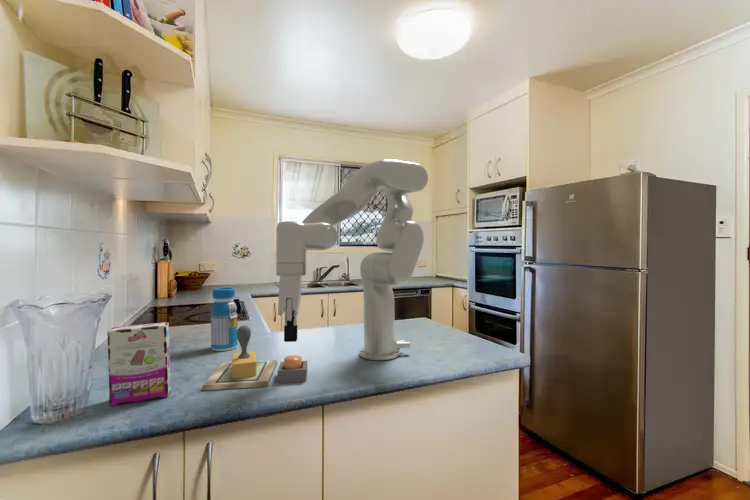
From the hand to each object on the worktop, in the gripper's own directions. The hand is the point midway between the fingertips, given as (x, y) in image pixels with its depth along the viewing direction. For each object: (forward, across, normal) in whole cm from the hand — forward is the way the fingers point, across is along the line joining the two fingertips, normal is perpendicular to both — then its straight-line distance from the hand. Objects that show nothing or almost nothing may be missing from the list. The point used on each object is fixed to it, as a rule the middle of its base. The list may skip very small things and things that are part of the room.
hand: (290, 340), depth 92 cm
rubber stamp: (+9, -4, -12) cm, 15 cm away
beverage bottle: (+10, -31, -24) cm, 41 cm away
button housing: (+10, 0, +1) cm, 10 cm away
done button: (+8, 0, +1) cm, 8 cm away
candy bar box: (+10, +7, -32) cm, 35 cm away
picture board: (+10, -3, -12) cm, 16 cm away
